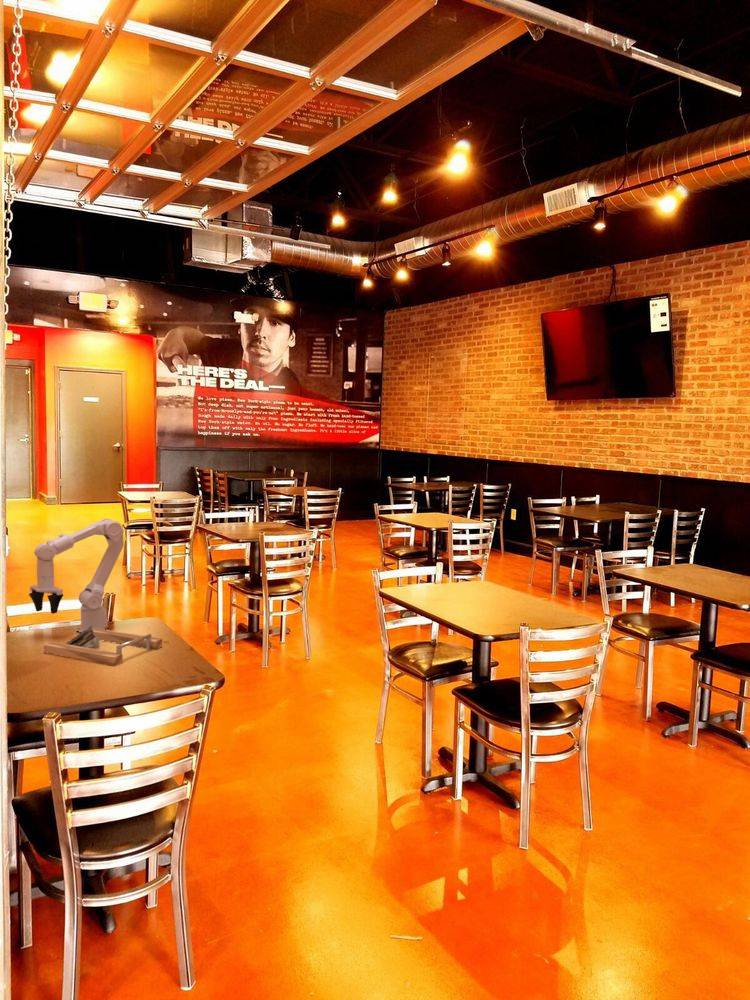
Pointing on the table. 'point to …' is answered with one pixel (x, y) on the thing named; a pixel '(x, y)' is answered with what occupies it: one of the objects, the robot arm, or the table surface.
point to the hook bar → (148, 637)
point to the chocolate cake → (85, 639)
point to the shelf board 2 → (125, 638)
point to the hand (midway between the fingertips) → (46, 611)
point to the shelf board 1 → (84, 653)
